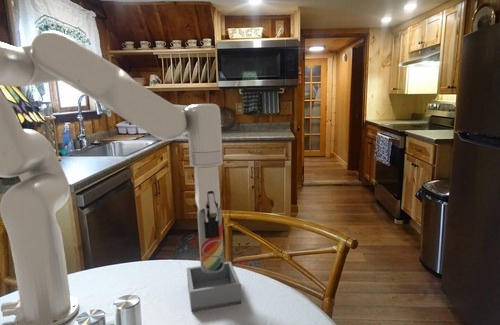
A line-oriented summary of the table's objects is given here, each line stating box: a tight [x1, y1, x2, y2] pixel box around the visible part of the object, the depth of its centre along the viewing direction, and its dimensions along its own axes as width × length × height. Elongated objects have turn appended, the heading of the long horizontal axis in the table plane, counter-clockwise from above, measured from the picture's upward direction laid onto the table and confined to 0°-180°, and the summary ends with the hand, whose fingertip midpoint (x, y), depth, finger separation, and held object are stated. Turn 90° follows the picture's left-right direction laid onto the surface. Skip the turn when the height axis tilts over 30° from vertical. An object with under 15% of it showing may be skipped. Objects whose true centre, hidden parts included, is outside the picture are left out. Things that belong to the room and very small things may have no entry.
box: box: [186, 261, 242, 313], centre depth 83 cm, size 12×12×5 cm
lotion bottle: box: [196, 195, 225, 274], centre depth 80 cm, size 6×6×20 cm
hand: (210, 231), depth 80 cm, fingers closed on lotion bottle, 5 cm apart
